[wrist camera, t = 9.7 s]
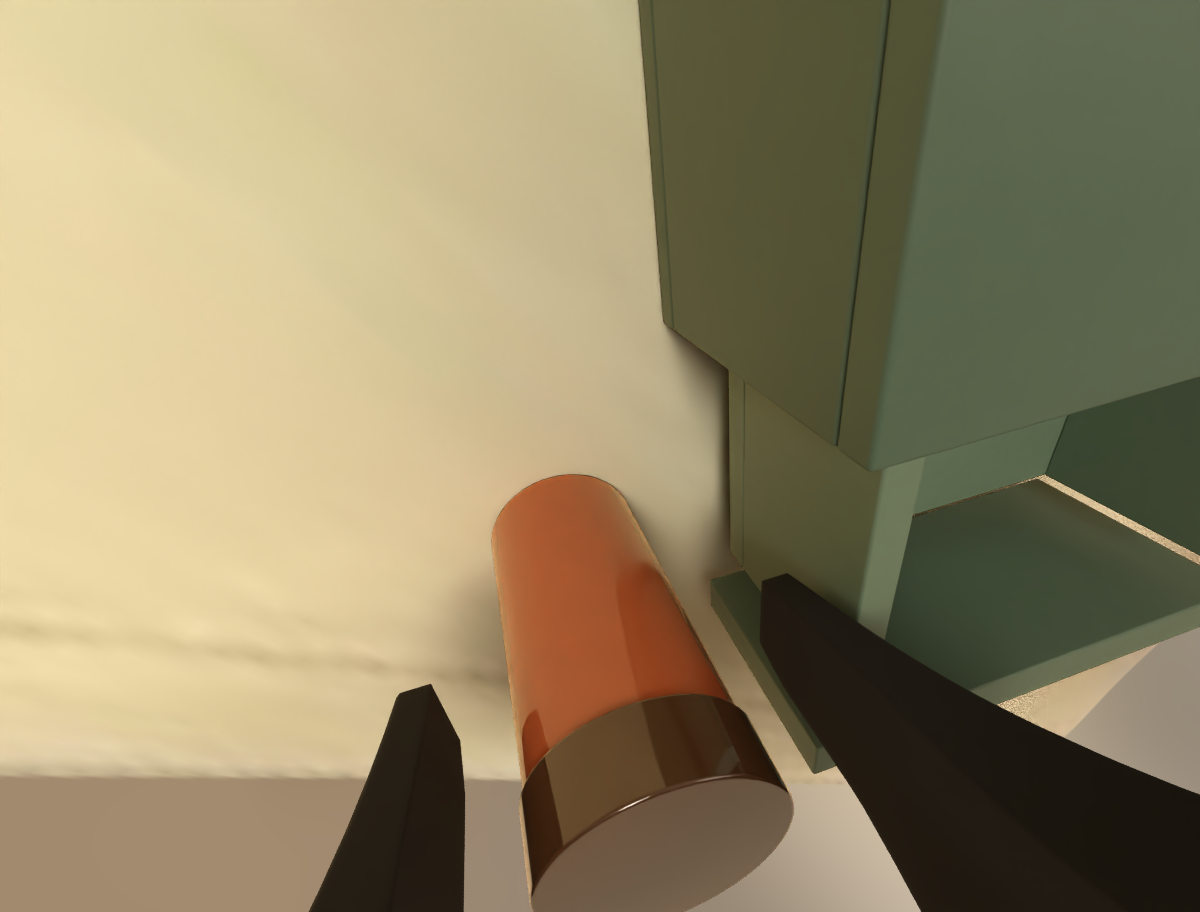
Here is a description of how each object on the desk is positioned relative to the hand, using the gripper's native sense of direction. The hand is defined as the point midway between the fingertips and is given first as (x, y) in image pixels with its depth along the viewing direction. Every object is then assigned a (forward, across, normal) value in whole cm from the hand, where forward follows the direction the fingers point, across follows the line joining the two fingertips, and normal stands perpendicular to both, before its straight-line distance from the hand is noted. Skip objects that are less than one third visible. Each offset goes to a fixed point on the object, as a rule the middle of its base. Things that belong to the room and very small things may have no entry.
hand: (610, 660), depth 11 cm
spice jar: (+5, 0, 0) cm, 5 cm away
